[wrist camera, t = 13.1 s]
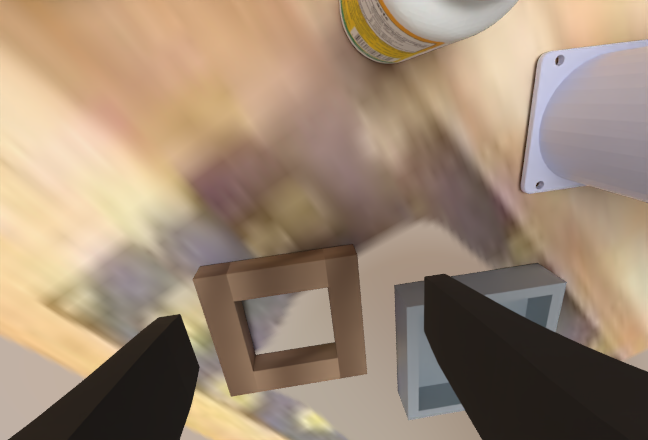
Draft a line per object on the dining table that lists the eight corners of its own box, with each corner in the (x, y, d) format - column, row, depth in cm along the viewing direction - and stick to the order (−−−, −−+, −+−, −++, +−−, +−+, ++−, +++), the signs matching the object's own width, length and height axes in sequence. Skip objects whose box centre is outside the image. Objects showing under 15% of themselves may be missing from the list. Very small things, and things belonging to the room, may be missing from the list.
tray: (537, 263, 22) (566, 282, 20) (518, 370, 26) (541, 397, 23) (394, 285, 21) (406, 307, 19) (397, 390, 25) (408, 420, 23)
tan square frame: (352, 243, 20) (357, 254, 18) (362, 357, 24) (367, 373, 22) (199, 266, 19) (192, 279, 18) (234, 378, 23) (231, 396, 22)
